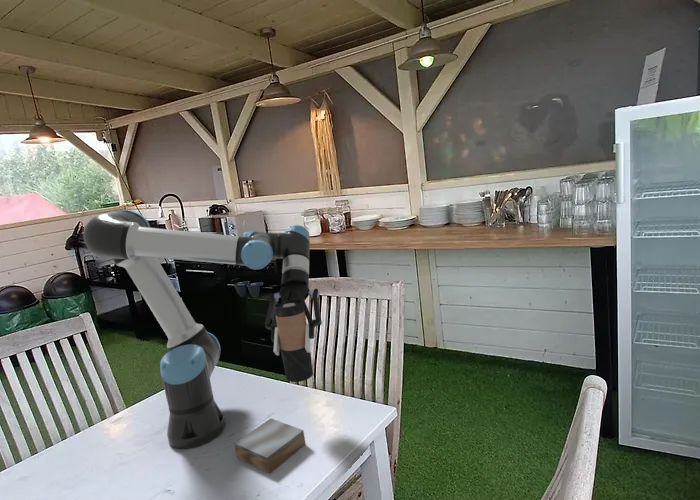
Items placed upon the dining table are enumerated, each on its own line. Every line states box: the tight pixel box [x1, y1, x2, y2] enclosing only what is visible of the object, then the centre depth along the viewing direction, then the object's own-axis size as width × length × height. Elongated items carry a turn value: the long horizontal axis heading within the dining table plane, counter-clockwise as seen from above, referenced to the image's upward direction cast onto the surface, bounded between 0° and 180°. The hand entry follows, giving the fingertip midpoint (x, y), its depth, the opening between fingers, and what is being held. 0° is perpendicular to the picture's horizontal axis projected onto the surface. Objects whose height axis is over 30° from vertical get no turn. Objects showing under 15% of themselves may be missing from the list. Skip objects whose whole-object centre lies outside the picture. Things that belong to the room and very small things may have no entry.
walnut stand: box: [233, 418, 306, 474], centre depth 110 cm, size 12×12×4 cm
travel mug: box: [274, 299, 314, 383], centre depth 116 cm, size 8×8×20 cm
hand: (291, 351), depth 113 cm, fingers closed on travel mug, 7 cm apart
